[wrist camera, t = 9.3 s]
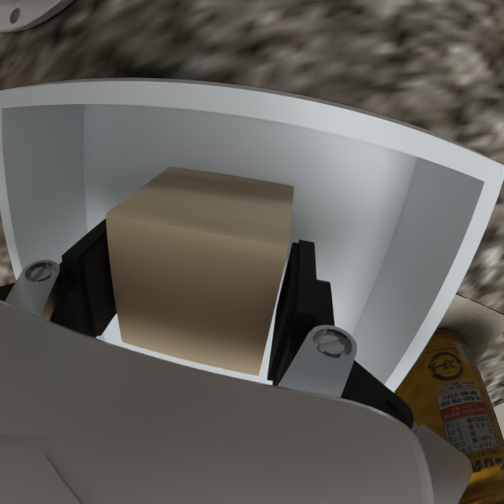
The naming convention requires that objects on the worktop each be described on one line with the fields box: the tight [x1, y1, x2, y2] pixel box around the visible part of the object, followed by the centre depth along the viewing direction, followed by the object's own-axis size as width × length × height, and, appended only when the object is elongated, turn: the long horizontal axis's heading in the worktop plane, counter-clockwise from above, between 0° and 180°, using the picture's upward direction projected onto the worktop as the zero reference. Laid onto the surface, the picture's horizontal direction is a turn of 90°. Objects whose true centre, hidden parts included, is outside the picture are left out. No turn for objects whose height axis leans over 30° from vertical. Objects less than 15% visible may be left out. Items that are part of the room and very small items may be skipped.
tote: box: [0, 78, 504, 393], centre depth 14 cm, size 21×15×6 cm
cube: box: [106, 167, 294, 376], centre depth 12 cm, size 5×5×5 cm
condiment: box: [394, 294, 504, 504], centre depth 11 cm, size 7×8×12 cm
